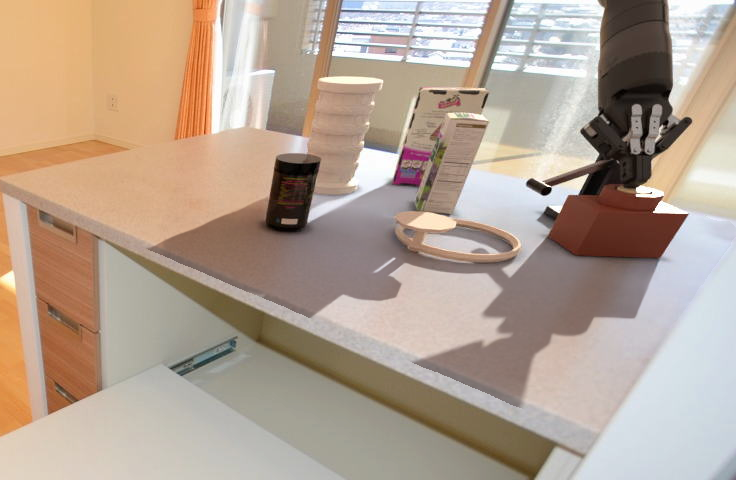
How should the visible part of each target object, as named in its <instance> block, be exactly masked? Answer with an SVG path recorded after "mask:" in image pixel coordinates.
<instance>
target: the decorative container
mask: <svg viewBox="0 0 736 480" xmlns="http://www.w3.org/2000/svg"><path fill="white" fill-rule="evenodd" d="M383 84H384V80H383V79H381V78H377V77H369V76H367V77H366V76H347V75H345V76H342V75H341V76H325V77H320V78H318V81H317V85H316V89H318V90H320V91H319V95H318V100H316V103H315V104H314V111H315V113H314V119H312V121H311V123H310V124H311V125H310V130H311V133H310V137H309V138H308V141H307V146H306V147H307V152H306V154H310V155H315V156H318V157H320V158H321V163H320V168H319V172H318V176H317V180H316V185H315V189H314V194H319V195H333V196H334V195H347V194H351V193H354V192H356V190H357V189H358V185H359V180H358V179H357V178H355V175H356V171H357V170H358V168H359V166H360V155H361V152H362V151H363V149H364V147H365V141H364V140H365V136H366V134H367V132H368V131H369V128H370V117H371V114H372V113H373V112H374V110H375V105H376V104H375V99H376V94H377V92H379V91H381V90H382V88H383Z"/></svg>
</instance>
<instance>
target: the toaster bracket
mask: <svg viewBox="0 0 736 480" xmlns="http://www.w3.org/2000/svg"><path fill="white" fill-rule="evenodd" d="M605 143H606V144H607V145H608V146H609V147H610V148H612V146H611V145H610V144H609V143H608V142H607V141H606V142H605ZM653 159H654V158H653ZM653 159H652V160H651V162H653ZM601 160H604V158H603V157H602V156H601V155H600V154H599V153H598V155H597V157H596V160H595V161H594V163H596V162H598V161H601ZM610 184H622V183H621V181H620V164H618V163H617V161H616V160H615V161H614V162H613V164H612V166H611V167H607V168H604V169H601V170H599V171H596V172H593V173H590V174H587V176H586V179H585V181H584V182H583V185H582V187H581V188H580V190H579V193H578V194H577V195H600V193H601V191H602V190H603V188H604V186H605V185H610ZM562 207H563V205H547V206H546V207H545V209H544V211H543V214H544V215H546V216H548V217H549V218H551V219H553V220H554V221H555V220H556V218H557V216H558V214H559V212H560V211H561V209H562Z"/></svg>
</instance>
